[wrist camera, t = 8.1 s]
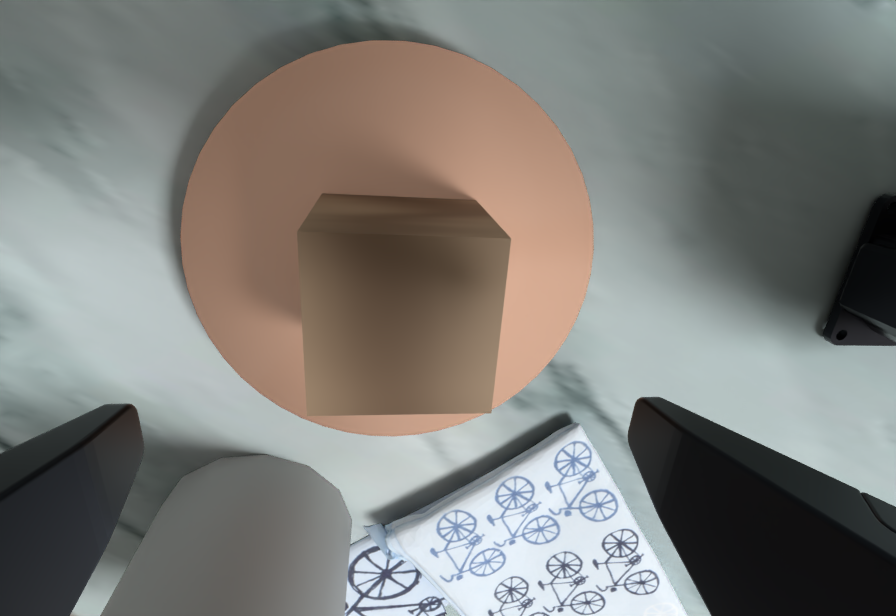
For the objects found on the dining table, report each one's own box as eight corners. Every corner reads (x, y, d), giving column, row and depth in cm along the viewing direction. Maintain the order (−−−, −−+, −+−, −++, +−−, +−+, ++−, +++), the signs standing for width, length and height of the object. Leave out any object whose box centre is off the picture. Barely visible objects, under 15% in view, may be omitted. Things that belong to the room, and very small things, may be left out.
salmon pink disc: (611, 63, 17) (629, 60, 15) (551, 413, 22) (561, 433, 21) (167, 25, 15) (146, 18, 13) (219, 418, 20) (208, 439, 19)
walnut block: (475, 200, 16) (511, 238, 12) (464, 335, 18) (491, 413, 14) (322, 193, 16) (297, 231, 11) (326, 334, 18) (306, 416, 13)
